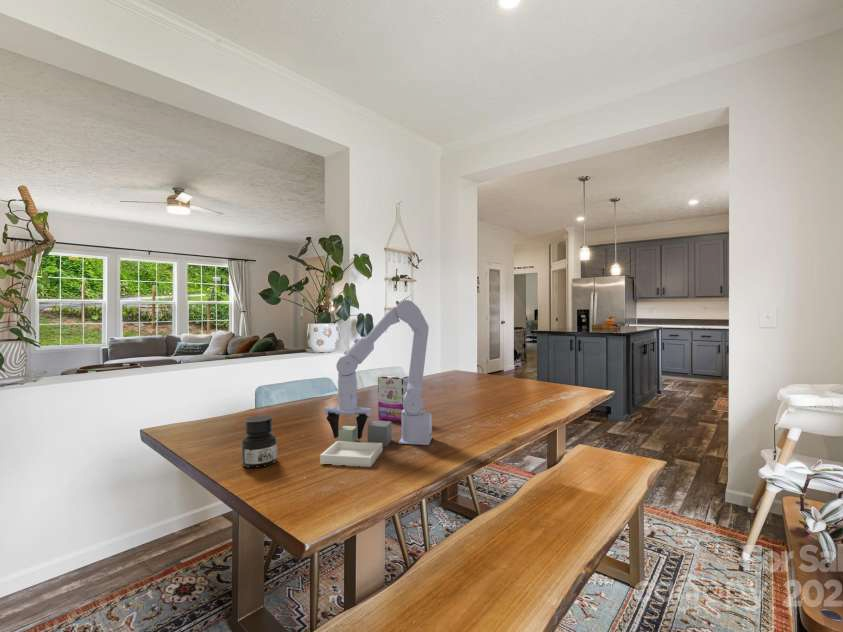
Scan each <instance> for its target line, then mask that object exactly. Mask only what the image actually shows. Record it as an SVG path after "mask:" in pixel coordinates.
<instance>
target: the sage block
mask: <svg viewBox="0 0 843 632" xmlns="http://www.w3.org/2000/svg"><path fill="white" fill-rule="evenodd" d="M357 433H358V428H357V426H355V425H354V426H353V425H352V426H351V425H342V427H340V428H339V430H338V441H348V442H358V437H357Z"/></svg>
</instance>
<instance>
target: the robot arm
mask: <svg viewBox="0 0 843 632" xmlns="http://www.w3.org/2000/svg"><path fill="white" fill-rule="evenodd" d="M400 320H401V321H403V322H404V323H406V324H407V325H408V326H409V328H410V329H411V330H412V331H413V338H412V344H411V353H410V362H409V363H410V364H409V369H408V376H409V378H408V385H407V390H406V392H405V393H404V395H403V408H404V409H403V410H402V422H401V438H400V439H399V440H398V442H397V443H398V444H401V445H402V444H403V445H420V446H421V445H422V446H428V445H429V446H430V443H431V442H432V438H433V422H432V421H433V418H432V417H433V416H432V413H430V412H426V411H425V409H424V401H423V395H422V392H423V379H424V372H425V371H424V369H425V364H426V363H425V362H426V355H427V347H428V336H429V330H430V329H429V324H428V321H427V320H426V319H425V316H424V314H423V313H422V311H421V309H420V307H418V305H416V304H415V303H414V301H412V300H409V299H404V300H401V301H399V303H398V304H397V305H396V306H394V307H392V309H390V310H389V311H388V312H387V313H385V315H384V316H383V317H382V318H381V319H380V320H379V322H377V323H376V325H375V326H374V327H373V328H372V329H371V331H370V332H369V333H368V334H367V335H366V336H360V337H359V338H355V339H354V340H353V344H352V346H350V348H349V349H348V350H345V351H344V352H343V355H344V356H341V357H339V358H338V361H337V362H336V364H335V366H336V370H337V372H338V373H337V377H338V378H337V379H338V380H337V398H338V399H337V401H338V402H337V404H338V405H337V406H326V407H324V415H327V416H326V420H327V422H328V424H329V426H330V428H331V431H332V434H333V438H334V439H337V438H339V436H338V430H339V429H340V428H339V425H340V423H339V422H340V415H347V416H348V415H349V416H350V415H351V416H353V415H354V416H355V415H356V416H357V417H356V418H355V419H356V425H357V440H361V439H362V438H363V433H364V428H365V426H366V423H367V420H368V418H369V416H371V415H372V408H371V407H363V406H362V407H361V406H358V405H357V404H358V397H357V395H358V394H357V391H358V390H357V387H358V386H357V382H358V381H357V371H356V370H357V369H358V365H361V364H362V363H363V362H364V361H365V360H366V358H367V357H368V356H370V354H371V353H372V352H373V351H374V350H375V342H376V341H377V340H378V339H380V337H381V336H382V335H383V334H384V333H385V332H386V331H387V330H388V329H389V328H390V327H391V325H395V324H397V323H400V322H401V321H400Z"/></svg>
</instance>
